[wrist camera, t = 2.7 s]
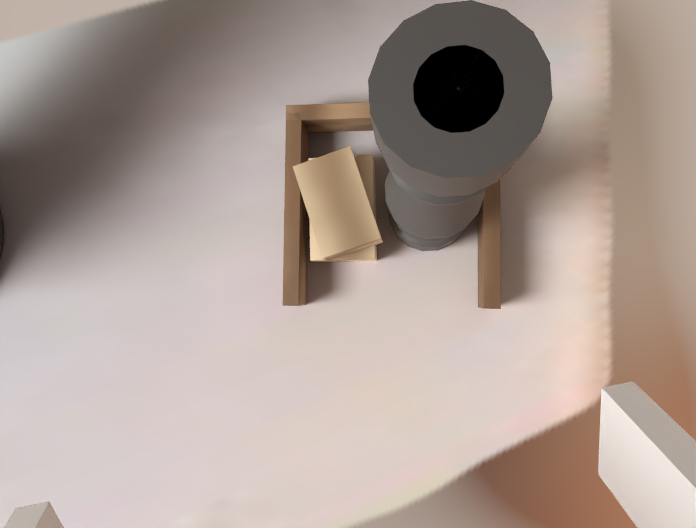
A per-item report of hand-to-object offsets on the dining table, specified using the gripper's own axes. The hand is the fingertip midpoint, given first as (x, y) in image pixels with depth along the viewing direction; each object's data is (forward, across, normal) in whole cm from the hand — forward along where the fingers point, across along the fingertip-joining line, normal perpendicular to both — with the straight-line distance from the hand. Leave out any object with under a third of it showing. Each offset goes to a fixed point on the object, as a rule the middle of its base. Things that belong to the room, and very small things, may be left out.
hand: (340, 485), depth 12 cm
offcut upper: (+28, +2, -2) cm, 28 cm away
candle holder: (+29, +9, -4) cm, 31 cm away
